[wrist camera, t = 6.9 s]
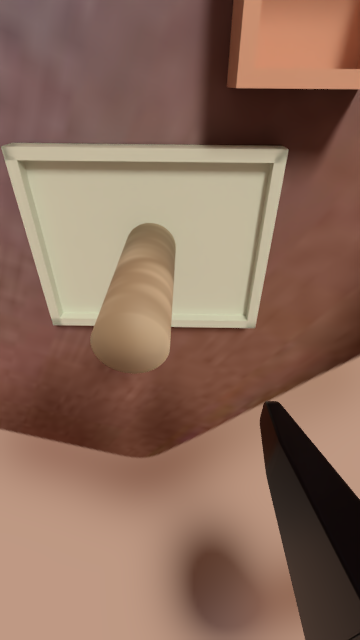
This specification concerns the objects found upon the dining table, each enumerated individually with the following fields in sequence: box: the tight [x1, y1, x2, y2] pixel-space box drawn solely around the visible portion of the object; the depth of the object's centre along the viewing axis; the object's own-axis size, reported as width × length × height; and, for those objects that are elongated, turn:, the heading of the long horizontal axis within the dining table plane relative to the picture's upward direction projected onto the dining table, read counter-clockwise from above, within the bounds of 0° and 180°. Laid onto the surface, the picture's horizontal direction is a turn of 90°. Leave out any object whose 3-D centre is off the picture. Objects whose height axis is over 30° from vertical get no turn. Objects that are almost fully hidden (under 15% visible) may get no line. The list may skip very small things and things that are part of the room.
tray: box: [1, 143, 289, 328], centre depth 19 cm, size 14×11×1 cm
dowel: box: [90, 223, 176, 373], centre depth 16 cm, size 3×3×9 cm
